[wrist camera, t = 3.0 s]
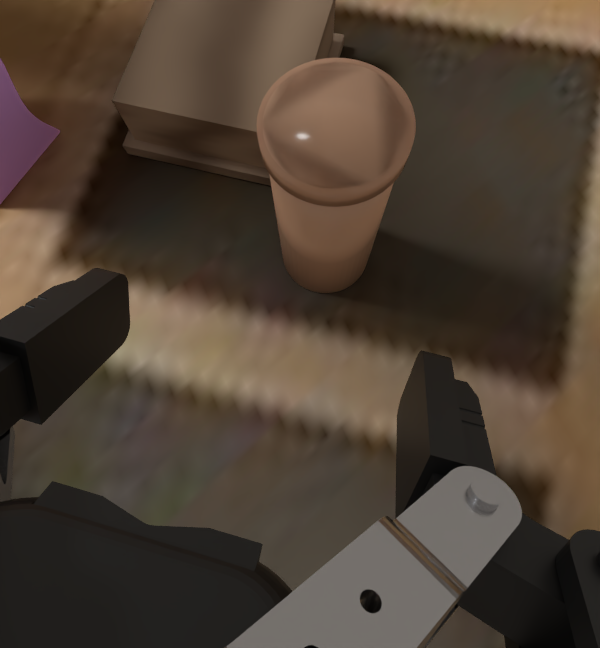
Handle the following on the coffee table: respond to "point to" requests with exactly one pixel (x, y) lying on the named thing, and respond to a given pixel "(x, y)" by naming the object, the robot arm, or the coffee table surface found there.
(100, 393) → the coffee table surface
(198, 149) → the base slab
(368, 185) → the canister
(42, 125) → the toy chair
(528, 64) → the coffee table surface
